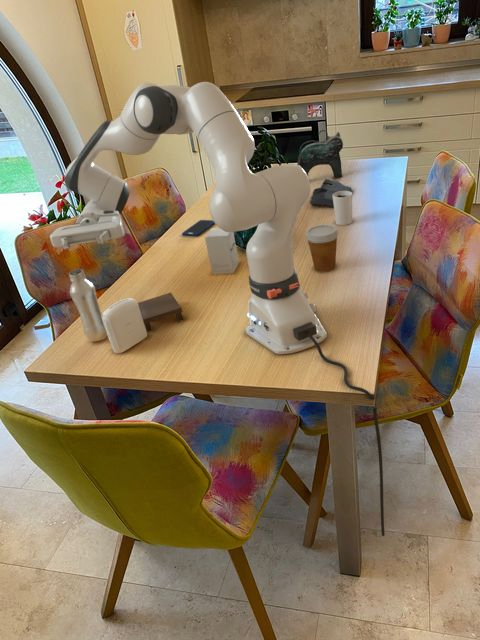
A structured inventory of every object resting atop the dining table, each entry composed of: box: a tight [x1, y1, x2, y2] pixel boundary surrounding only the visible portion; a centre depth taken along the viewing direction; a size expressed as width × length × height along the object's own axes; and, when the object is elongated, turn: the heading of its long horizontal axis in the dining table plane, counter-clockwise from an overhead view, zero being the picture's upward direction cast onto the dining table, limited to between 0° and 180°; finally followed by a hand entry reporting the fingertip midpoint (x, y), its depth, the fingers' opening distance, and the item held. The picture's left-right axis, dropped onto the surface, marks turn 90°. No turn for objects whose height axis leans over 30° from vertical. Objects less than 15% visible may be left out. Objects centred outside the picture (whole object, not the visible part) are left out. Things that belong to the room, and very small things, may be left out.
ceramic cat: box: [296, 129, 344, 179], centre depth 237 cm, size 20×6×20 cm, turn 94°
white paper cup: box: [333, 191, 353, 226], centre depth 196 cm, size 7×7×10 cm
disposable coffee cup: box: [305, 224, 339, 273], centre depth 167 cm, size 10×10×12 cm
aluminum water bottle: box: [68, 268, 108, 342], centre depth 148 cm, size 6×7×20 cm
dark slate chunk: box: [309, 178, 352, 208], centre depth 219 cm, size 15×22×5 cm
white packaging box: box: [204, 227, 240, 275], centre depth 176 cm, size 7×7×13 cm
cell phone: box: [181, 219, 216, 237], centre depth 213 cm, size 7×14×1 cm, turn 153°
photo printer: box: [101, 297, 148, 354], centre depth 146 cm, size 10×4×12 cm, turn 139°
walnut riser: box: [137, 292, 184, 333], centre depth 157 cm, size 11×11×4 cm
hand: (82, 243), depth 152 cm, fingers open, 8 cm apart
